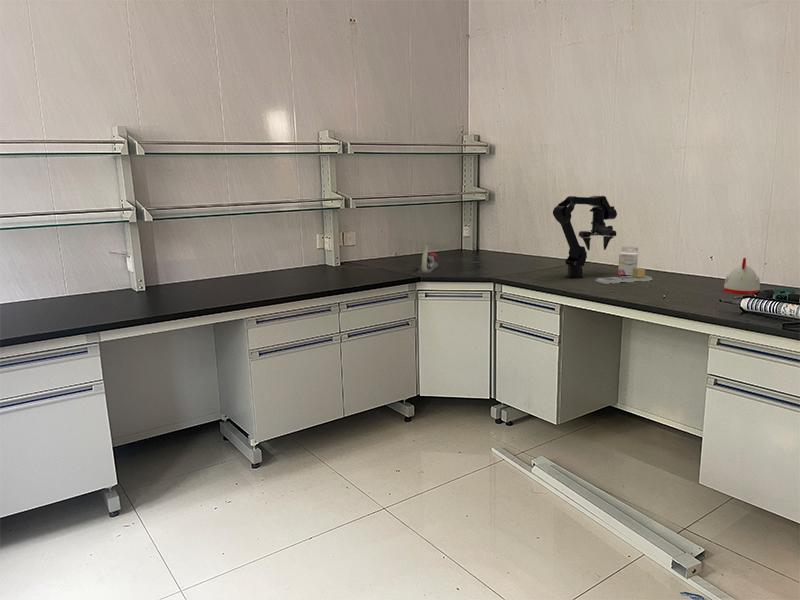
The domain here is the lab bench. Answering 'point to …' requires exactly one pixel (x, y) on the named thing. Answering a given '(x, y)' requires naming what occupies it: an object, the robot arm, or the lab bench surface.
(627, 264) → the ink cartridge box
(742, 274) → the kitchen timer
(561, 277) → the lab bench surface
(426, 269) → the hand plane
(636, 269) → the brass block
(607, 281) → the grey compartment frame
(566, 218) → the robot arm
